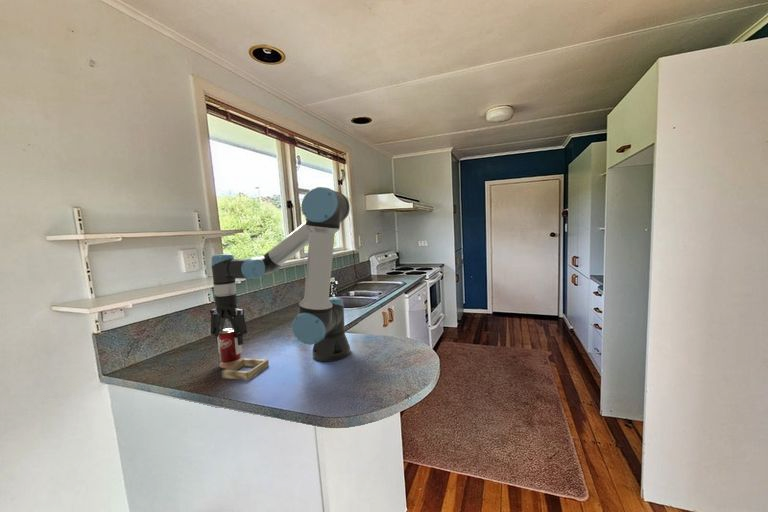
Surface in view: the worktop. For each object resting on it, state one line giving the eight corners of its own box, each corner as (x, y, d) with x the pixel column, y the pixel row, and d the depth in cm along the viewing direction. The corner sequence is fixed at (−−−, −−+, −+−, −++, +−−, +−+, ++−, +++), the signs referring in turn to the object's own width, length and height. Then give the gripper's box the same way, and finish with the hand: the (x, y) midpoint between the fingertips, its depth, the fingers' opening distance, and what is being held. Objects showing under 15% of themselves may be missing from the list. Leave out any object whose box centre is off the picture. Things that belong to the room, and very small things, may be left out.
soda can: (227, 365, 113) (224, 334, 112) (216, 362, 117) (214, 331, 116) (245, 358, 119) (242, 328, 118) (234, 355, 123) (232, 326, 122)
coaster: (247, 360, 121) (247, 358, 121) (232, 368, 113) (232, 367, 113) (230, 359, 123) (229, 357, 123) (214, 367, 115) (214, 366, 115)
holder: (268, 366, 114) (268, 359, 114) (249, 380, 104) (248, 373, 103) (243, 364, 117) (243, 358, 117) (222, 377, 106) (221, 371, 106)
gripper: (254, 292, 117) (259, 349, 119) (211, 292, 122) (216, 347, 124) (241, 296, 110) (246, 357, 112) (195, 296, 115) (201, 355, 116)
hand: (230, 352), depth 118 cm, fingers closed on soda can, 7 cm apart
